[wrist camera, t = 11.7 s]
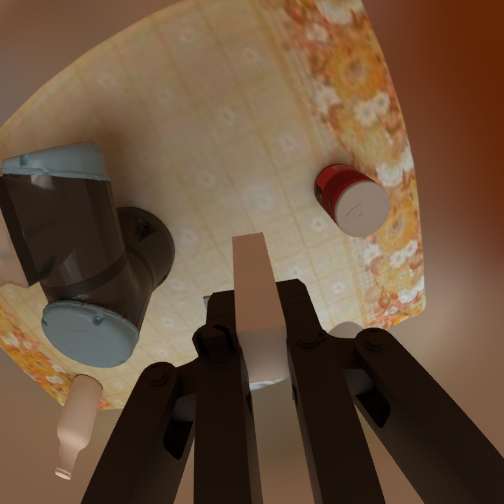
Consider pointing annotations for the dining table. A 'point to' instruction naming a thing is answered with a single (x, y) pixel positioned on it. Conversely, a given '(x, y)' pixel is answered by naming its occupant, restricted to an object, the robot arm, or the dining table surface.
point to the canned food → (352, 200)
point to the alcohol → (77, 421)
